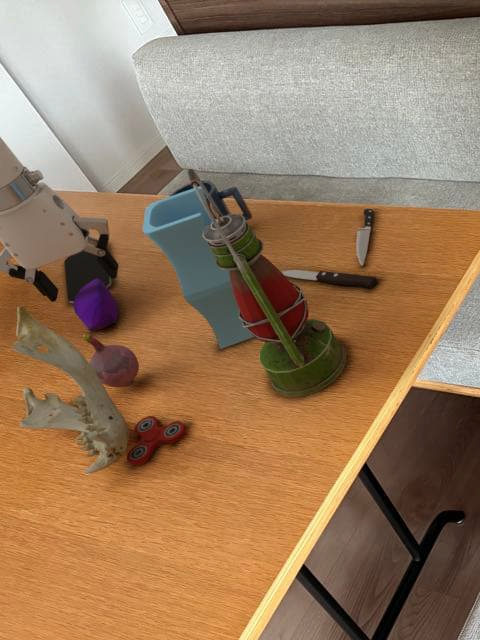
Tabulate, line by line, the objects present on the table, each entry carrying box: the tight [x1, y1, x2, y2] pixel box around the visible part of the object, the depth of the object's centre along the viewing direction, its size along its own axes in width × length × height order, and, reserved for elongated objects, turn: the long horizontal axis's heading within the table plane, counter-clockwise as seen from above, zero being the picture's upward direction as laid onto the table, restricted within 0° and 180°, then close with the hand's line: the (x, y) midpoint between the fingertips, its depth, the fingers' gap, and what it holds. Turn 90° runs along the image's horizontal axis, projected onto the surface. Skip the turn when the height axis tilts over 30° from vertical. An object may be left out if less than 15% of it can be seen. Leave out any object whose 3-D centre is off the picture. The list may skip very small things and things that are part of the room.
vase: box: [142, 186, 255, 350], centre depth 110 cm, size 8×8×20 cm
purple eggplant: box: [72, 278, 119, 332], centre depth 126 cm, size 5×5×15 cm
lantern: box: [186, 168, 347, 398], centre depth 97 cm, size 14×11×30 cm
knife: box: [355, 208, 374, 267], centre depth 125 cm, size 15×1×2 cm
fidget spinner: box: [126, 415, 187, 466], centre depth 104 cm, size 8×7×1 cm
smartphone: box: [64, 251, 113, 304], centre depth 136 cm, size 7×1×15 cm
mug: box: [168, 179, 253, 222], centre depth 132 cm, size 11×8×9 cm
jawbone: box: [10, 305, 130, 474], centre depth 104 cm, size 25×18×10 cm
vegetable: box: [82, 333, 140, 388], centre depth 110 cm, size 6×6×10 cm
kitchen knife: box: [280, 269, 378, 289], centre depth 120 cm, size 18×1×2 cm
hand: (85, 284), depth 123 cm, fingers open, 9 cm apart
